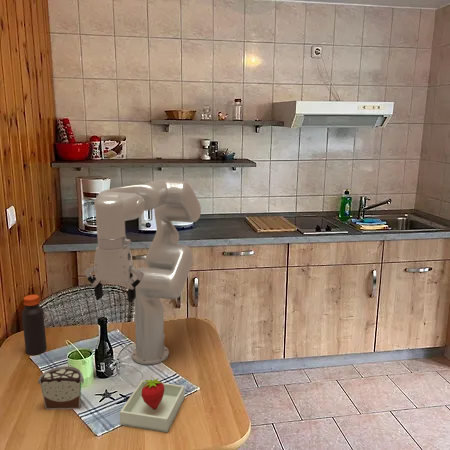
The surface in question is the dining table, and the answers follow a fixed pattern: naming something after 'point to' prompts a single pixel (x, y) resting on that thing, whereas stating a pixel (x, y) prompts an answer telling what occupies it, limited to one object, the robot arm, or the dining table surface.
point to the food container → (61, 388)
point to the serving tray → (153, 418)
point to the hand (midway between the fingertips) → (115, 299)
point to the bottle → (33, 326)
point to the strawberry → (153, 393)
